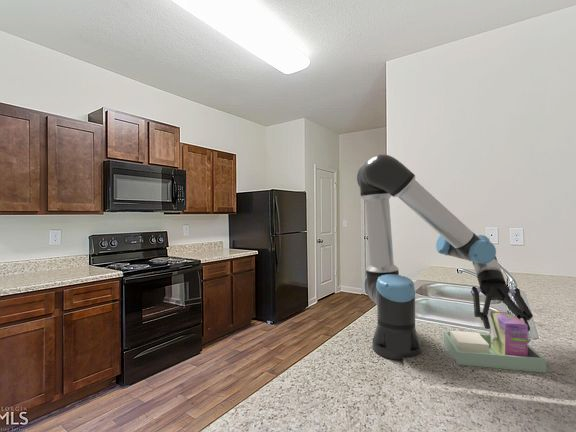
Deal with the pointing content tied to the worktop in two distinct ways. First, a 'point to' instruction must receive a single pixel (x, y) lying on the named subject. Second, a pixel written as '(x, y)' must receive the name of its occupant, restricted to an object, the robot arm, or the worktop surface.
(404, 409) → the worktop surface
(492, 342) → the box
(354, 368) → the worktop surface
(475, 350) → the carton
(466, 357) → the tote
